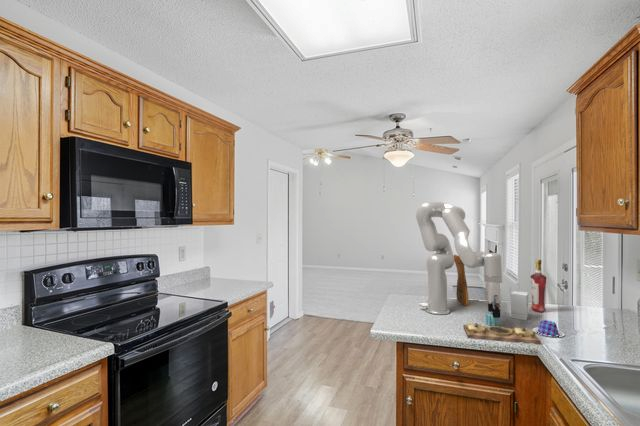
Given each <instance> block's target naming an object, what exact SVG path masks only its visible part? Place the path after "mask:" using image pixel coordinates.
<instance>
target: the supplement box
mask: <svg viewBox="0 0 640 426" xmlns="http://www.w3.org/2000/svg"><path fill="white" fill-rule="evenodd" d="M528 317H529V292H525V291H517V290H516V291H515V290H513V291H511V293H510V318H512V319H516V320H522V321H527V320H528Z"/></svg>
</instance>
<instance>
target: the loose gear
mask: <svg viewBox="0 0 640 426" xmlns="http://www.w3.org/2000/svg"><path fill="white" fill-rule="evenodd" d="M485 326H487V327H491V326H498V327H500V318H494V317H493V312H486V314H485Z"/></svg>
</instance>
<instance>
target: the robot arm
mask: <svg viewBox="0 0 640 426" xmlns="http://www.w3.org/2000/svg"><path fill="white" fill-rule="evenodd" d="M415 217H416V218H415V219H416V221H417V222H416V223H417V225H418V227H419V231H420V235H421V237H422V238H421V239H422V242H423V246H424V248H425V250H426V251H428V252H435V253H432V254H431V255H429V256H428V257H427V259H426V270H427V276H428V277H427V279H428V281H427V282H428V288H427V289H428V292H427V295H428V300H427V302H419V307H421V308H425V312H427V313H429V314H432V315H440V316H442V315H448V314H450V311H451V310H450V308H448V307H447V306H448V303H447V302H448V299H447V298H448V296H447V292H448V290H447V289H448V285H447V284H448V283H447V282H448V281H447V274H446V270H449V269H451V268H453V266H455V261H454V253H453V250H452V246H451V243H450V240H449V238H448V237H447V236H446V235H445V234H443V233H438V230H437V228H436V224H435V222H434V221H433V219H432V218H442V220H443V221H444V224H445V225H446V227H447V228H448V230H449V232H450V234H451V236H452V237H453V240H454V248H455V251H456V254H457V256H459V257H460V259H461V261H462V262H463V264H464V267H467V268H469V269H475V268H479V267H483V273H484V274H483V275H484V277H483V278H484V279H483V280H484V281H483V282H485V300H486V302H487V310H488V313H493V317H494V318H499V319H500V318H501V306H500V305H501V303H502V299H501V298H502V297H501V285H500V284H503V271H502V268H503V267H502V255H501V254H500V253H498V252H485V251H473V249H472V247H471V246H470V244H469V236H470V231H471V230H470V229H469V227H468V225H467V224H466V222H465V221H464V220H465V218H466V212H465V211H464V209H463V208H461V207H460V206H456V205H453V204H449V203H445V202H441V201H427V202H423V203H422V204H420V205H419V206H418V208H417V209H416V215H415Z"/></svg>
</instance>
